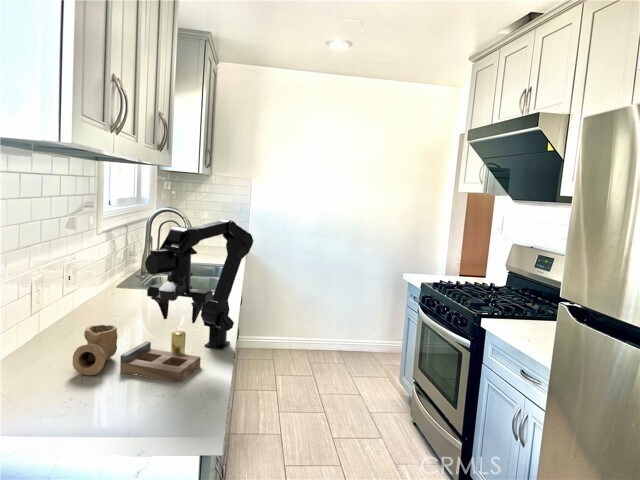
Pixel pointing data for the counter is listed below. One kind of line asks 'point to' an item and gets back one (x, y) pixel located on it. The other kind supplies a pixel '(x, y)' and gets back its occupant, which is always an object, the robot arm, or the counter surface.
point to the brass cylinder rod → (178, 342)
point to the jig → (158, 363)
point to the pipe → (95, 349)
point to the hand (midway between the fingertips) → (179, 321)
